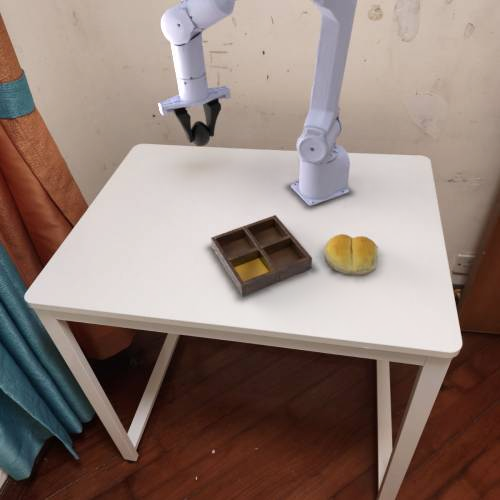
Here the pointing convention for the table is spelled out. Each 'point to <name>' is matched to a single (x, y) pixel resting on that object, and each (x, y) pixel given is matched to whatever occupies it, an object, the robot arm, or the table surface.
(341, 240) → the bread roll
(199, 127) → the egg
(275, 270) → the brown compartment tray
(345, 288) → the table surface
